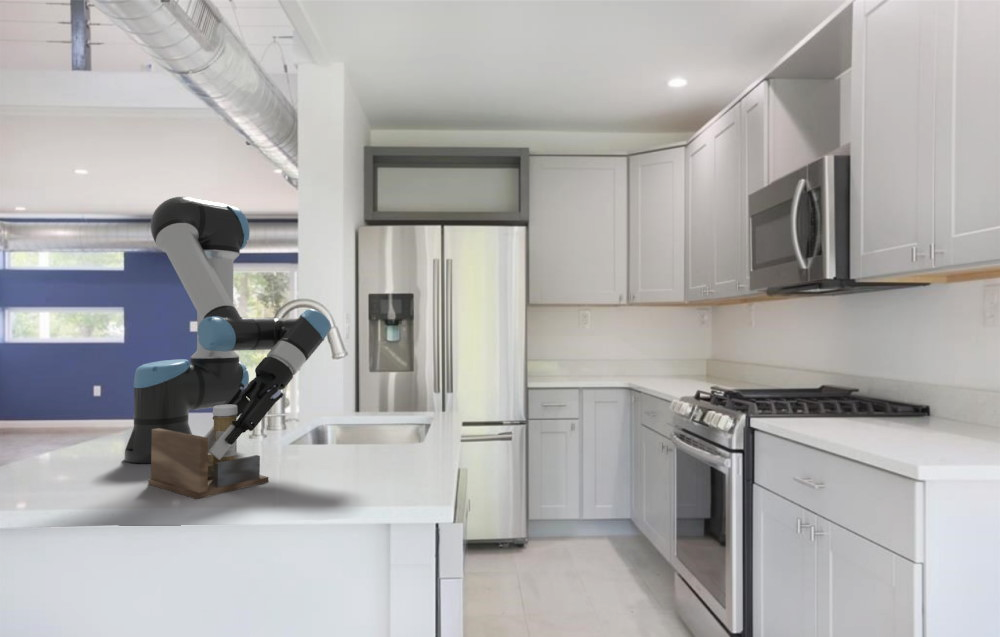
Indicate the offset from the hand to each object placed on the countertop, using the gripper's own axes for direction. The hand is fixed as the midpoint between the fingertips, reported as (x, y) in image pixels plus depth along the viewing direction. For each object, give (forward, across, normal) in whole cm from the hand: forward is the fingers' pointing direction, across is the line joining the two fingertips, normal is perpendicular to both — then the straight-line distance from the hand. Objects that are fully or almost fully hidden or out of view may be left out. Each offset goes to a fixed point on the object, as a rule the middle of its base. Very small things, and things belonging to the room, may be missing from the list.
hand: (207, 454), depth 117 cm
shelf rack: (+3, +3, -6) cm, 8 cm away
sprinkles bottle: (0, 0, -6) cm, 6 cm away
